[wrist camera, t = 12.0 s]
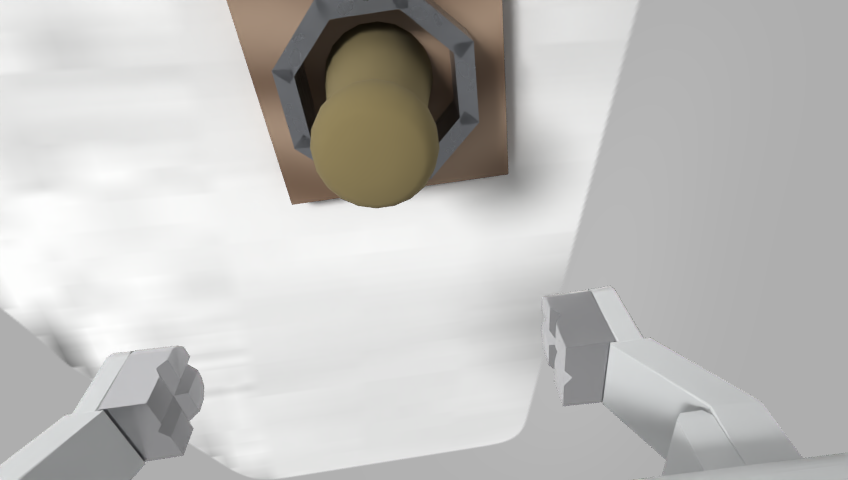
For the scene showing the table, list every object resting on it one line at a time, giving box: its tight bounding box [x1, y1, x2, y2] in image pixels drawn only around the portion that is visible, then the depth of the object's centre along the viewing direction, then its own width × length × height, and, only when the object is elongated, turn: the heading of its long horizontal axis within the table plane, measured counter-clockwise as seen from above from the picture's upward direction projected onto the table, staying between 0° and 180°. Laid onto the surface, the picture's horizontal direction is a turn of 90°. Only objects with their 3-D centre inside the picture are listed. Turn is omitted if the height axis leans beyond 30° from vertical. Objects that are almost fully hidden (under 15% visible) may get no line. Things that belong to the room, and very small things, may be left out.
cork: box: [310, 21, 440, 208], centre depth 24 cm, size 6×6×11 cm
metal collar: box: [271, 0, 479, 179], centre depth 27 cm, size 10×10×3 cm
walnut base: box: [227, 0, 508, 205], centre depth 29 cm, size 14×14×2 cm
